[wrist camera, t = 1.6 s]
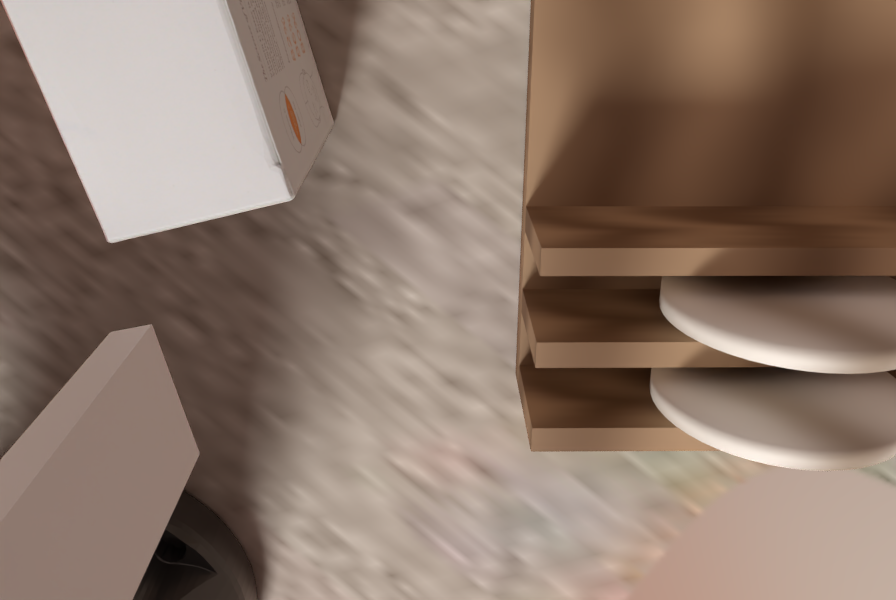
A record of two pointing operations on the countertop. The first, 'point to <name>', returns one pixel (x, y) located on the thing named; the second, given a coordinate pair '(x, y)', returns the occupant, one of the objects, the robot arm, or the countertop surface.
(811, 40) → the rack
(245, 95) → the small box
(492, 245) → the countertop surface
